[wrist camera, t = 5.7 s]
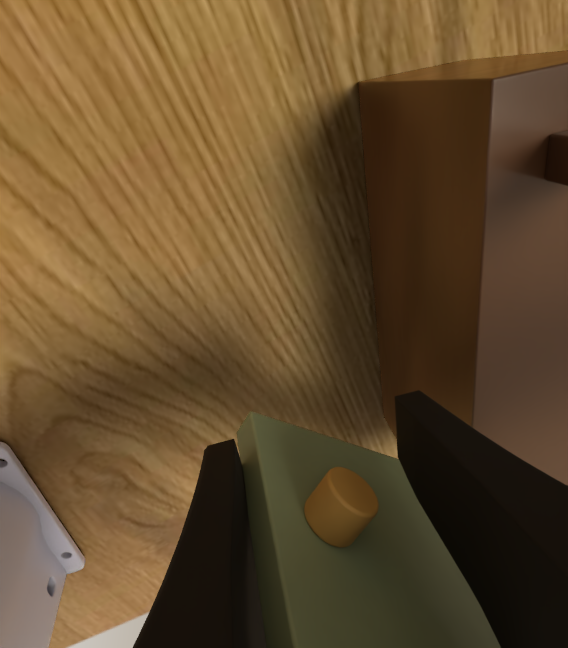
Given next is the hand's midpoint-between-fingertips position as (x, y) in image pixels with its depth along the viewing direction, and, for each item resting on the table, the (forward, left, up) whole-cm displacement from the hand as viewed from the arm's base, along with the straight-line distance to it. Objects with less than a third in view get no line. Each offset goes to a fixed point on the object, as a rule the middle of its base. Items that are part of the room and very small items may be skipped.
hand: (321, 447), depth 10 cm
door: (-3, -3, -1) cm, 4 cm away
